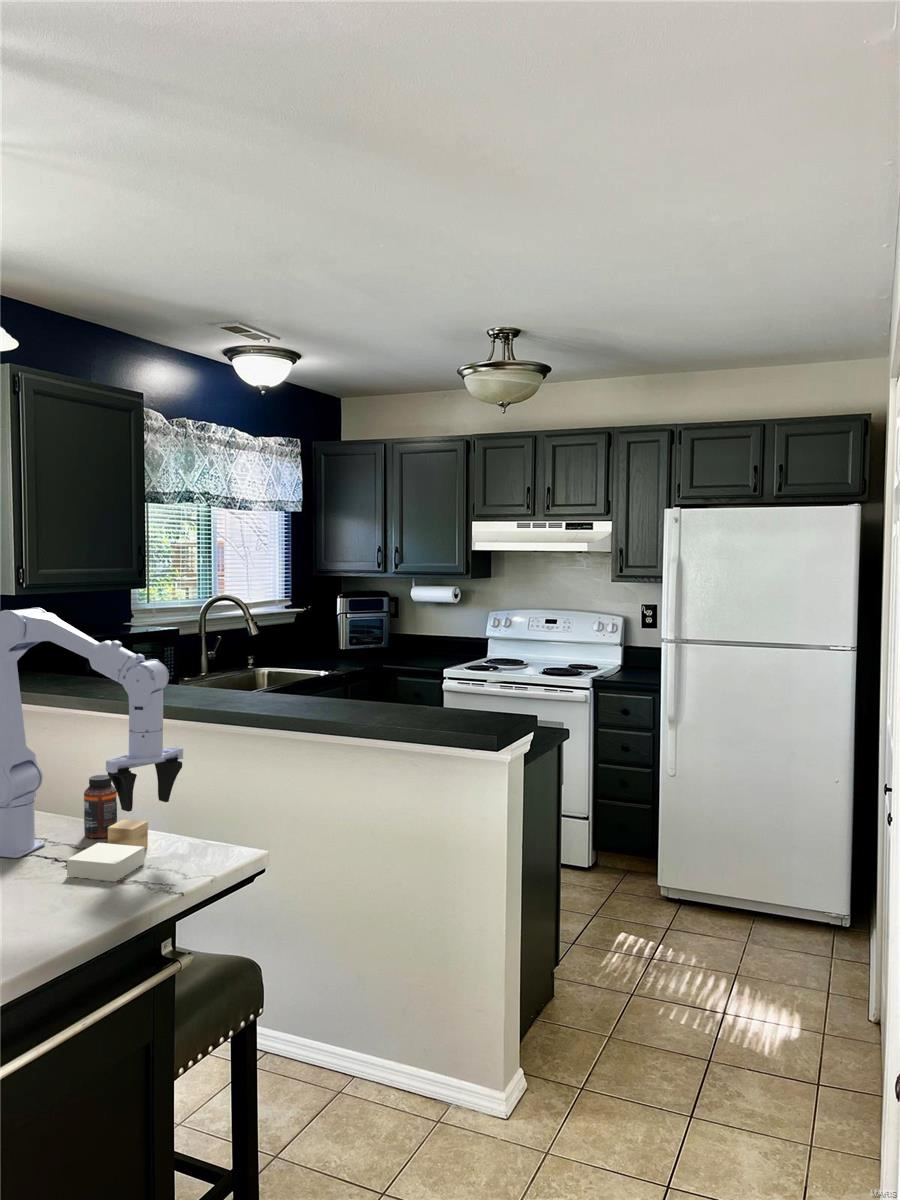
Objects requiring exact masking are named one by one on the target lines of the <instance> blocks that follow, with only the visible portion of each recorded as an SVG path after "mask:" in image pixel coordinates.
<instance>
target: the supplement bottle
mask: <svg viewBox="0 0 900 1200" xmlns="http://www.w3.org/2000/svg"><path fill="white" fill-rule="evenodd" d="M88 781H89V782H88V785H89V786H88V787H87V788H86V789H85V790H84V792H83V819H84V820H83V824H84V827H83V829H84V836H85V837H87V838H88V837H89V839H93V838H98V839H106V838H107V839H108V827H109V826H111V825H113V824H115V823H117V822H118V800H117V799H118V794H117V791H116V789H115V786H114V785H113V782H112V781H111V779H110V777H109V776H108V774H97V775H92V776H90V777H89V778H88Z"/></svg>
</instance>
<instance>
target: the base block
mask: <svg viewBox="0 0 900 1200" xmlns="http://www.w3.org/2000/svg"><path fill="white" fill-rule="evenodd" d="M145 850H146V849H145V847H141V846H130V845H119V844H108V842H107V843H104V842H96V843H95V844H93V845H91V846H90V847H87V848H85V849H83V850H81V851H80V852H78V853H76V854H75V855H72V856H71V857H69V858H67V859H66V877H67V876H69V877H68V878H73V877H79V878H78V879H83V878H89V879H88V880H95V881H106V882H114V883H115V882H117V880H118V881H119V880H121V879H122V878H124V877H125V875H126V876H127V875H129V874H130V873H132V872H134V871H135V870H137V869H138V868H140V867H141V865H142V866H143V865H145V857H146V856H145ZM139 866H140V867H139ZM136 868H137V869H136ZM120 878H121V879H120Z"/></svg>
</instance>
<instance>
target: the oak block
mask: <svg viewBox="0 0 900 1200" xmlns="http://www.w3.org/2000/svg"><path fill="white" fill-rule="evenodd" d="M148 822H149V821H147V820H135V819H134V820H133V819H121V820H120V821H117V823H115V824H113V825H111V826H109V827H108V837H107V844H119V845H130V846H141V847H145V848H146V849H148V848H149V845H148V844H149V843H148V842H149V841H148V840H149V839H148V838H149V834H148V833H149V831H148V830H149V825H148V824H149V823H148ZM147 847H148V848H147Z"/></svg>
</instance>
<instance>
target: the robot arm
mask: <svg viewBox="0 0 900 1200" xmlns="http://www.w3.org/2000/svg"><path fill="white" fill-rule="evenodd" d="M41 642H51V643H54V644H55V645H58V646H60V647H63V648H65V649H67V650H69V651H71V652H72V653H73V652H74V654H77V655H80V656H81V657H84V658H86V659H88V660H89V665H90V667H91V669H92V670H94V671H96V672H98V673H99V674H102V675H104V676H105V677H107V678H110V679H111V680H113V681H115V682H116V683H119V684H120V685H122V687H123V690H125V692H126V693H127V695H128V753H126V754H123V755H121V756H117V757H115V758H111V759H106V760H105V772H106V773H107V775H108V776H109V777H110V779H111V781H112V782H111V783H112V785H113V786H114V787H115V789H116V791H117V798H118V801H119V805H120V808H121V810H122V811H124V812H132V810H133V804H134V802H133V801H134V797H133V796H134V788H135V784H136V783H135V782H136V779H137V776H138V775H137V774H136V773H134V772H132V770H131V769H134V768H139V767H144V766H148V765H154V767H155V771H156V776H157V777H156V778H157V779H156V780H157V797H158V801H160V802H163V803H168V802H169V801H170V797H171V793H172V790H173V786H174V784H175V781H176V779H177V777H178V775H179V773H180V771H181V770H182V768H183V761H181V760H183V759H184V748H183V747H179V746H174V747H168V748H164V745H163V744H164V738H163V737H164V688H166V687H167V686H168V683H169V680H170V674H169V673H170V672H169V670H168V668H167V666H166V665H165V664H163V663H162V662H161V661H160V660H159V659H155V658H153V659H152V658H150V659H147V660H146V659H145V655H143V654H141V653H138V654H136V653H134V652H132V651H131V650H128V649H127V648H125V647H123V646H122V645H123V643H122V642H121V641H119V640H118V639H117V640H112V641H111V640H104V641H101V642H99V641H97V640H95V639H94V638H93V637H91V636H89V635H87V634H86V633H84V632H82V631H80V630H79V629H77V628H75V627H74V626H72V625H71V624H69V623H67V622H65V621H64V620H62V619H61V618H60V617H58V616H57V615H56V613H53V612H47V611H46V610H45V609H43V608H41V607H31V608H23V609H15V610H14V609H13V610H12V609H10V610H9V609H4V610H1V611H0V857H3V858H13V859H19V858H20V857H23V856H25V855H28V854H29V853H31V852H34V851H35V850H38V849H40V848H42V847H43V846H45V845H46V842H45V841H38V840H36V837H35V836H36V835H35V834H36V833H35V831H36V828H35V827H36V826H35V823H36V821H35V820H36V819H35V815H36V814H35V813H36V812H35V803H36V801H35V799H36V796H37V792H36V791H38V790H39V789H40V788H41V786H42V784H43V779H44V777H43V776H44V775H43V771H42V769H41V768H40V766H39V764H38V762H37V756H36V753H35V751H33V750H32V749H31V748H30V747H28V746H27V741H26V732H25V723H24V713H23V706H22V704H23V703H22V696H21V687H20V686H21V685H20V680H19V679H20V678H19V672H18V661H19V660H20V658H22V656H24V655H25V653H26V652H27V651H28V650H29V649H30V648H32V647H34V646H36V645H37V644H39V643H41Z"/></svg>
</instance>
